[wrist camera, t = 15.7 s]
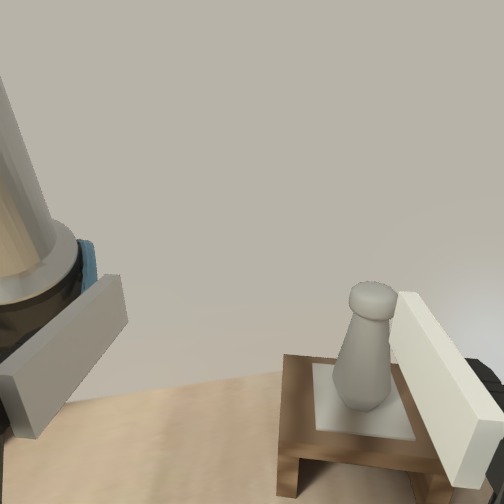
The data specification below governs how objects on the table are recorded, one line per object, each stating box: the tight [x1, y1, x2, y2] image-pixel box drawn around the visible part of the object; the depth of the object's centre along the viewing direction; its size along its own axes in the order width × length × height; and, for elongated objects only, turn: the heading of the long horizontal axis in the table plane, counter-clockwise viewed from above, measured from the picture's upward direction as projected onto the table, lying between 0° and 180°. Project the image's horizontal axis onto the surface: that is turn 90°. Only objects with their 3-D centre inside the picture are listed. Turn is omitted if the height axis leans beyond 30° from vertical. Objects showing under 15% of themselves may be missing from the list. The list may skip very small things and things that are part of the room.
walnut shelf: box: [276, 354, 455, 504], centre depth 36 cm, size 16×12×8 cm
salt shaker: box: [332, 281, 398, 413], centre depth 32 cm, size 6×6×13 cm
